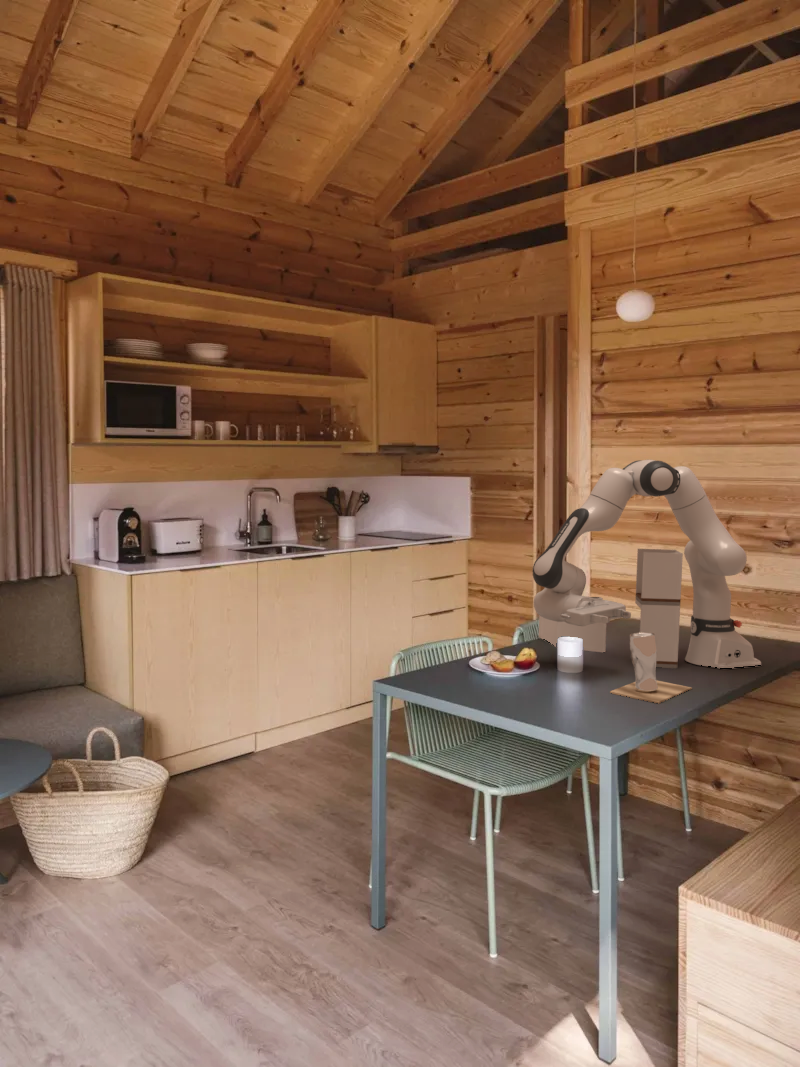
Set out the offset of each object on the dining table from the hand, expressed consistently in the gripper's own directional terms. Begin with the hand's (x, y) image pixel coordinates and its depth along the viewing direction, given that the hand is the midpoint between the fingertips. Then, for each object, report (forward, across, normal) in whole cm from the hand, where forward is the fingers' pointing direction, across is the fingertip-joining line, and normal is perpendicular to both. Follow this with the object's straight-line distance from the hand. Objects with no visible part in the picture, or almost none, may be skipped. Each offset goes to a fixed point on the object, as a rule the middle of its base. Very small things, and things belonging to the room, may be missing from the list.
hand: (619, 617), depth 245 cm
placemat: (+12, -1, +18) cm, 22 cm away
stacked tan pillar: (-7, +27, +19) cm, 34 cm away
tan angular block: (-40, +26, +19) cm, 51 cm away
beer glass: (+12, -3, +18) cm, 21 cm away
